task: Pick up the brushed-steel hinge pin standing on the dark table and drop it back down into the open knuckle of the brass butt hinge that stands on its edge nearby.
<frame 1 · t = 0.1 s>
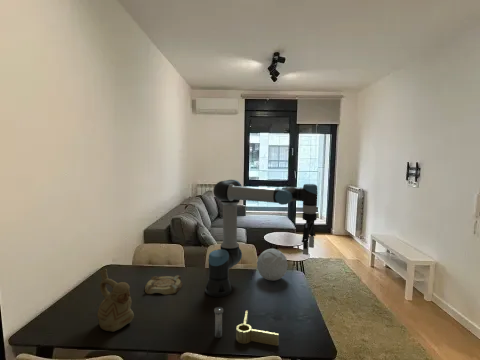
hand: (308, 250, 165), 28 cm above the table, fingers open, 13 cm apart
ashtray: (164, 287, 182), on the table
ceramic vessel: (115, 324, 142), on the table
hinge: (243, 338, 132), on the table
pin: (218, 335, 134), on the table
ceramic mug: (117, 303, 162), on the table
decorative sphere: (271, 279, 196), on the table
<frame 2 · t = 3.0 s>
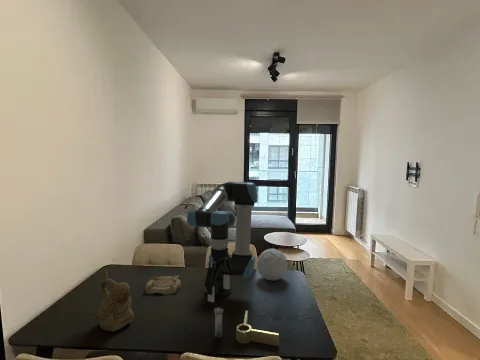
hand: (219, 294, 132), 19 cm above the table, fingers open, 13 cm apart
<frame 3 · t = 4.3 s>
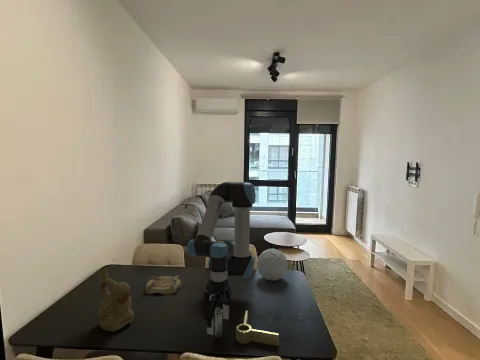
hand: (218, 326, 133), 5 cm above the table, fingers open, 13 cm apart
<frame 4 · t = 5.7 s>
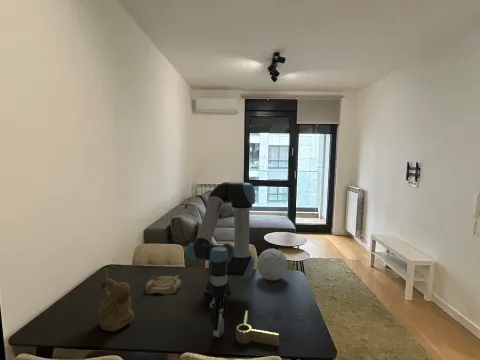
hand: (218, 333, 134), 1 cm above the table, fingers closed on pin, 3 cm apart
pin: (218, 335, 134), on the table, touching gripper
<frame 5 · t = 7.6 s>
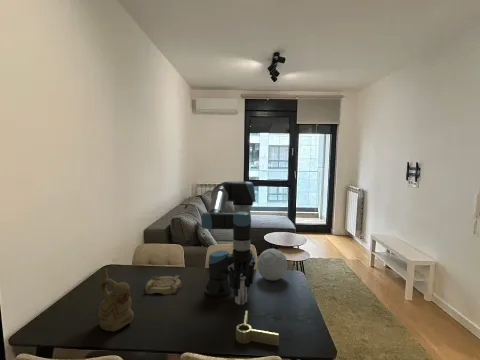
hand: (241, 301, 130), 17 cm above the table, fingers closed on pin, 3 cm apart
pin: (241, 302, 130), point 16 cm above the table, touching gripper
when the fingers open (6 cm above the table, at t = 9.8 s): pin drops 5 cm, on the table.
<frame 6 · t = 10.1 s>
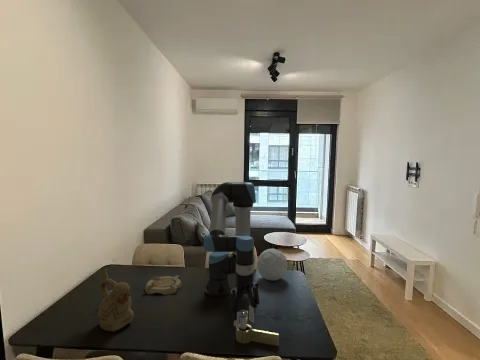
hand: (244, 323, 131), 7 cm above the table, fingers open, 7 cm apart
pin: (243, 338, 132), on the table
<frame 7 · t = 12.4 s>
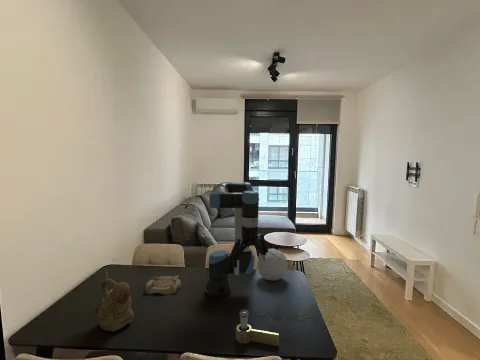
hand: (249, 270, 138), 27 cm above the table, fingers open, 13 cm apart
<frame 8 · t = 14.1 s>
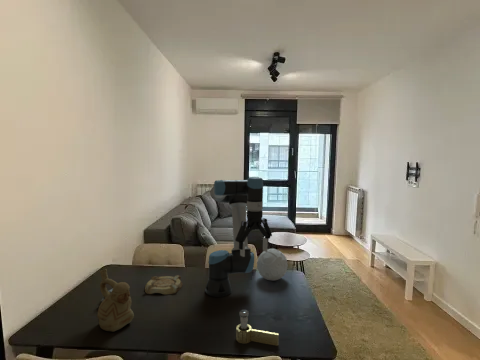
hand: (254, 253, 145), 33 cm above the table, fingers open, 13 cm apart
at the end: pin 0.0 cm from the hinge (horizontally); pin on the table; pin tilted 0° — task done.
